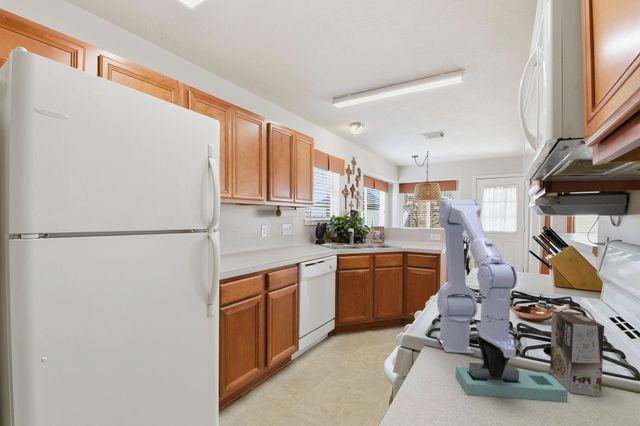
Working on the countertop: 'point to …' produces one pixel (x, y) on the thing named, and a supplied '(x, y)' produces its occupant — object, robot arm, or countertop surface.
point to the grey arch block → (482, 371)
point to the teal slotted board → (514, 386)
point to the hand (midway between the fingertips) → (492, 373)
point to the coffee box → (577, 352)
